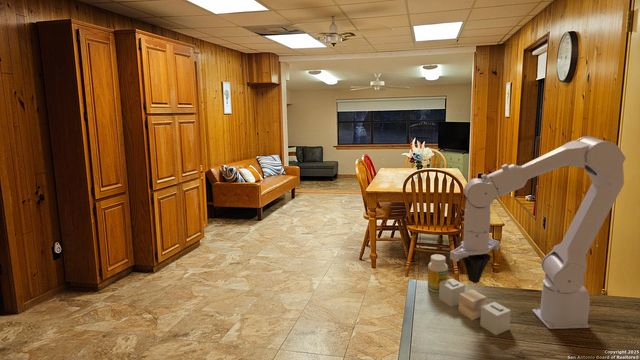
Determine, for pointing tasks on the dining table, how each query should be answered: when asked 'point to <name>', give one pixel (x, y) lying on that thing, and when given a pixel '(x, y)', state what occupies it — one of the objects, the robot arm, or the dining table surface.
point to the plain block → (471, 304)
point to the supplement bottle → (437, 272)
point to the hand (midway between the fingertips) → (473, 281)
